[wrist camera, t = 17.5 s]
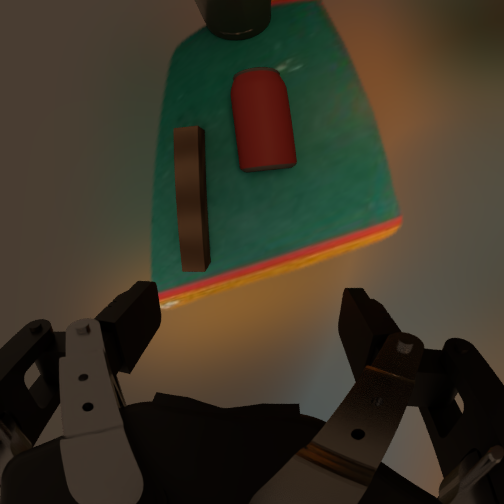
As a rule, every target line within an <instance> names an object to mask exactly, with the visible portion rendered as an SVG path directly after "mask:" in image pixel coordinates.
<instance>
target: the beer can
mask: <svg viewBox="0 0 504 504" xmlns="http://www.w3.org/2000/svg"><path fill="white" fill-rule="evenodd" d="M279 75H280V73H279V72H278V71H277V70H275V69H273V68H268V67H256V68H250V69H246V70H243V71H240V72H238V73H237V74H235V75H234V77H233V80H234V82H233V85H232V88H231V101H232V109H233V117H234V125H235V133H236V141H237V148H238V156H239V164H240V169H241V170H242V171H244V172H256V171H265V170H275V169H284V168H292V167H294V166H295V164H296V162H297V160H296V152H295V144H294V136H293V129H292V121H291V114H290V108H289V101H288V95H287V88H286V86H285V83H284V82H283V80H282V78H281V77H280V76H279Z"/></svg>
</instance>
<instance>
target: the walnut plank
mask: <svg viewBox="0 0 504 504" xmlns="http://www.w3.org/2000/svg"><path fill="white" fill-rule="evenodd" d="M174 162H175V186H176V203H177V217H178V230H179V241H180V252H181V262H182V271H183V272H205V271H206V269H207V268H208V266H209V264H210V263H211V259H210V245H209V229H208V211H207V191H206V165H205V130H203V129H202V128H200V127H199V126H191V127H182V128H174Z"/></svg>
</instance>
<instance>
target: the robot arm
mask: <svg viewBox="0 0 504 504" xmlns="http://www.w3.org/2000/svg"><path fill="white" fill-rule="evenodd" d="M195 2H196V4H197V6H198V8H199V10H200V12H201V14H202V16H203V19H204V21H205V22H206V25H207V27H208V28H209V30H210V31H211V32H212V33H213V34H214V35H216V36H218V37H220V38H223V39H228V40H242V39H247V38H251V37H253V36H255V35H257V34H259V33H261V32H262V31H263V30H264V29H265V28H266V27H267V26H268V24H269V22H270V19H271V0H195ZM160 323H161V310H160V304H159V297H158V290H157V285H156V283H155V282H149V281H137V282H136V284H134V285H133V286H132V287H131V288H130V289H129V290H128V291H126V292H124V293H122V294H120V295H118V296H117V297H116V298H115V299H114V300H113V302H111V303H110V304H109V305H108V307H106V308H105V309H104V310H103V311H102V312H100V313H99V314H98V315H97V316H96V318H94V319H89V318H87V319H80V320H77V321H75V322H73V323H71V324H70V325H69V326H68V327H67V329H66V332H53V329H52V326H51V323H50V322H49V321H47V320H44V319H40V320H35V321H32V322H30V323H28V324H27V325H26V326H24V327H23V328H22V329H21V330H20V331H19V332H18V333H17V334H16V335H15V336H13V337H12V338H11V339H10V340H9V341H8V342H7V343H6V344H5V345H4V346H3V347H2V348H1V349H0V488H1V496H0V504H504V385H503V384H502V382H501V381H500V380H499V378H498V377H497V375H496V374H495V372H494V371H493V370H492V369H491V367H490V366H489V364H488V363H487V362H486V360H485V359H484V358H483V357H482V355H481V354H480V353H479V351H478V350H477V349H476V348H475V347H474V345H473V344H471V343H470V342H468V341H466V340H464V339H460V338H451V339H448V340H447V341H446V342H445V344H444V347H443V349H442V350H433V349H425V348H424V344H423V342H422V341H421V340H420V339H419V338H418V337H416V336H414V335H412V334H409V333H404V332H401V330H400V329H399V328H398V326H397V325H396V323H395V322H394V320H393V319H392V318H391V316H390V315H389V313H387V311H386V309H385V308H384V307H383V305H382V304H380V303H379V302H378V301H376V300H375V299H370V298H369V296H368V295H367V293H366V292H365V291H364V289H363V288H345V289H344V292H343V298H342V304H341V310H340V316H339V322H338V331H339V335H340V338H341V341H342V344H343V347H344V349H345V352H346V355H347V358H348V361H349V363H350V366H351V369H352V372H353V375H354V378H355V381H356V383H355V384H354V386H353V387H352V389H351V390H350V391H349V393H348V394H347V396H346V397H345V399H344V400H343V401H342V403H341V404H340V405H339V407H338V408H337V409H336V411H335V412H334V413H333V415H332V416H331V417H330V419H329V420H328V421H327V422H325V421H323V420H320V419H317V418H315V417H311V416H308V415H303V414H300V409H299V404H258V405H250V406H243V407H234V408H220V407H217V406H214V405H210V404H207V403H204V402H201V401H197V400H195V399H192V398H188V397H182V396H176V395H169V394H163V393H158V392H157V393H156V395H155V397H154V399H153V401H152V402H140V403H135V404H131V405H126V402H125V399H124V396H123V393H122V390H121V387H120V384H119V381H118V378H117V373H118V372H124V373H128V374H130V373H131V371H132V370H133V368H134V367H135V365H136V363H137V362H138V360H139V358H140V357H141V355H142V353H143V352H144V350H145V349H146V347H147V346H148V344H149V342H150V341H151V339H152V338H153V336H154V335H155V333H156V331H157V330H158V328H159V326H160ZM34 362H35V363H36V366H37V368H38V370H39V372H40V374H41V375H40V376H39V377H38V379H37V380H36V381H35V382H34V384H33V385H32V386H31V388H30V389H29V390H28V388H27V387H26V385H25V382H24V375H25V373H26V371H27V370H28V369H29V368H30V367H31V365H32V364H33V363H34ZM457 393H459V394H460V396H461V398H462V400H463V403H464V411H463V414H462V412H461V411H460V408H459V407H458V405H457V403H456V401H455V399H454V398H455V396H456V395H457ZM60 403H61V414H62V424H63V432H64V435H63V436H60V437H58V438H56V439H53V440H51V441H49V442H46V443H44V444H41V445H39V446H36V447H34V448H33V446H34V445H35V443H36V441H37V439H38V438H39V436H40V434H41V433H42V431H43V429H44V427H45V426H46V425H47V423H48V421H49V420H50V418H51V417H52V415H53V413H54V412H55V410H56V409H57V407H58V405H59V404H60ZM407 406H416V407H419V410H420V412H421V415H422V417H423V420H424V422H425V424H426V428H427V430H428V433H429V435H430V438H431V441H432V444H433V447H434V450H435V453H436V455H437V459H438V462H439V465H440V468H441V471H442V474H443V477H444V479H443V480H442V482H441V484H440V487H439V496H438V498H436V497H435V496H433V495H431V494H429V493H428V492H426V491H425V490H423V489H421V488H420V487H418V486H416V485H415V484H413V483H412V482H410V481H409V480H407V479H406V478H404V477H402V476H401V475H399V474H398V473H396V472H395V471H394V470H392V469H391V468H389V467H388V466H386V465H385V464H384V463H382V462H381V461H382V459H383V457H384V455H385V453H386V451H387V449H388V447H389V445H390V443H391V441H392V439H393V437H394V435H395V432H396V430H397V428H398V426H399V423H400V421H401V419H402V416H403V414H404V412H405V409H406V407H407Z"/></svg>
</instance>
